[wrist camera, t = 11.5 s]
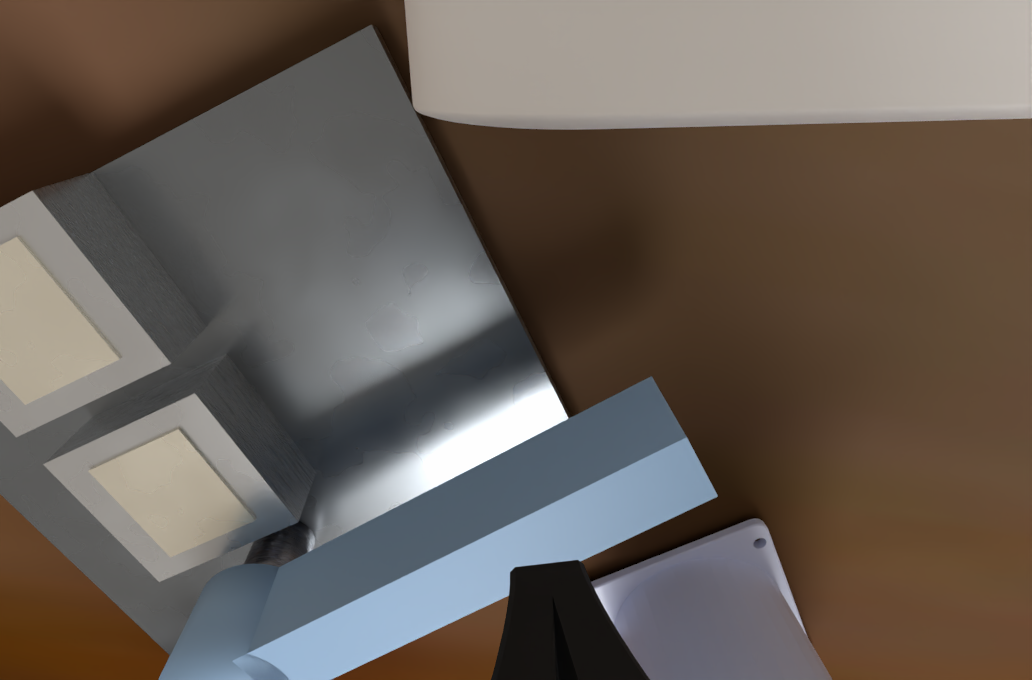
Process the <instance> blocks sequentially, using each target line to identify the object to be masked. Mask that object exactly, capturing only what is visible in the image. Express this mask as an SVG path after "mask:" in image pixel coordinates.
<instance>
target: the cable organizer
mask: <svg viewBox="0 0 1032 680" xmlns="http://www.w3.org/2000/svg"><path fill="white" fill-rule="evenodd" d="M404 2H405V15H406V27H407V40H408V52H409V65H410V77H411V90H412V102H413V107H414V109H415V110H416V111H417V112H419V113H421V114H423V115H426V116H429V117H433V118H436V119H440V120H445V121H450V122H456V123H463V124H471V125H481V126H491V127H504V128H520V129H562V130H576V129H626V128H666V127H705V126H745V125H785V124H825V123H865V122H904V121H944V120H984V119H1024V118H1032V0H404Z"/></svg>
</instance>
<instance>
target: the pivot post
mask: <svg viewBox="0 0 1032 680" xmlns="http://www.w3.org/2000/svg"><path fill="white" fill-rule="evenodd" d="M314 544H315V538H314V535H313V533H312V531H311V529H310V528H309V527H308V526H307V525H305V524H304V523H302V522H300V521H298V522H297V523H295V524H293V525H290V526H288V527H286V528H284V529H281V530H279V531H277V532H274V533H272V534H270V535H267V536H265V537H263V538H260V539H258V540H256V541H254V542H253V544H252V546H251V548H250V551H249V553H248V555H247V558H246V560H245V562H244V564H268V565H273V566H277V567H280V566H282V565H284V564H286V563H288V562H290V561H292V560H294V559H296V558H298V557H300V556H302V555H304V554H306V553H308V552H310V551H312V550H313V548H314Z"/></svg>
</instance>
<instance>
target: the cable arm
mask: <svg viewBox="0 0 1032 680" xmlns="http://www.w3.org/2000/svg"><path fill="white" fill-rule="evenodd" d="M716 497H718V495H717V493H716V491H715V490H714V488H713V486H712V484H711V482H710V480H709V478H708V476H707V474H706V473H705V471H704V469H703V467H702V465H701V463H700V461H699V459H698V457H697V456H696V454H695V452H694V450H693V448H692V446H691V444H690V442H689V440H688V439H687V437H686V435H685V433H684V432H683V430H682V428H681V426H680V425H679V423H678V421H677V419H676V418H675V416H674V414H673V412H672V411H671V409H670V407H669V406H668V404H667V402H666V400H665V399H664V397H663V395H662V393H661V392H660V390H659V388H658V386H657V385H656V383H655V381H654V380H653V378H652V376H651V377H649V378H647V379H645V380H643V381H641V382H639V383H637V384H635V385H633V386H631V387H629V388H627V389H626V390H624V391H622V392H620V393H618V394H616V395H614V396H612V397H610V398H608V399H606V400H604V401H602V402H600V403H598V404H596V405H594V406H592V407H590V408H588V409H587V410H585V411H583V412H581V413H579V414H577V415H575V416H573V417H571V418H569V419H567V420H565V421H563V422H561V423H559V424H557V425H555V426H553V427H551V428H549V429H548V430H546V431H544V432H542V433H540V434H538V435H536V436H534V437H532V438H530V439H528V440H526V441H524V442H522V443H520V444H518V445H516V446H514V447H512V448H510V449H509V450H507V451H505V452H503V453H501V454H499V455H497V456H495V457H493V458H491V459H489V460H487V461H485V462H483V463H481V464H479V465H477V466H475V467H473V468H471V469H470V470H468V471H466V472H464V473H462V474H460V475H458V476H456V477H454V478H452V479H450V480H448V481H446V482H444V483H442V484H440V485H438V486H436V487H434V488H432V489H431V490H429V491H427V492H425V493H423V494H421V495H419V496H417V497H415V498H413V499H411V500H409V501H407V502H405V503H403V504H401V505H399V506H397V507H395V508H393V509H392V510H390V511H388V512H386V513H384V514H382V515H380V516H378V517H376V518H374V519H372V520H370V521H368V522H366V523H364V524H362V525H360V526H358V527H356V528H354V529H353V530H351V531H349V532H347V533H345V534H343V535H341V536H339V537H337V538H335V539H333V540H331V541H329V542H327V543H325V544H323V545H321V546H319V547H317V548H315V549H314V550H312V551H310V552H308V553H306V554H304V555H302V556H300V557H298V558H296V559H294V560H292V561H290V562H288V563H286V564H284V565H282V566H280V567H277V566H273V565H268V564H242V565H237V566H233V567H230V568H227V569H225V570H223V571H221V572H219V573H218V574H216V575H215V576H214V577H212V578H211V579H210V580H209V581H208V582H207V584H206V585H205V587H204V588H203V590H202V592H201V594H200V596H199V598H198V600H197V602H196V604H195V606H194V608H193V611H192V613H191V615H190V617H189V619H188V621H187V623H186V625H185V627H184V629H183V631H182V633H181V635H180V637H179V639H178V641H177V643H176V645H175V647H174V649H173V651H172V653H171V655H170V657H169V659H168V661H167V663H166V665H165V667H164V669H163V671H162V673H161V675H160V677H159V680H331V679H333V678H335V677H337V676H340V675H342V674H344V673H346V672H348V671H350V670H352V669H354V668H356V667H359V666H361V665H363V664H365V663H367V662H369V661H371V660H373V659H376V658H378V657H380V656H382V655H384V654H386V653H388V652H390V651H392V650H395V649H397V648H399V647H401V646H403V645H405V644H407V643H409V642H411V641H414V640H416V639H418V638H420V637H422V636H424V635H426V634H428V633H430V632H433V631H435V630H437V629H439V628H441V627H443V626H445V625H447V624H449V623H452V622H454V621H456V620H458V619H460V618H462V617H464V616H466V615H468V614H471V613H473V612H475V611H477V610H479V609H481V608H483V607H485V606H487V605H490V604H492V603H494V602H496V601H498V600H500V599H502V598H504V597H507V596H509V590H510V572H511V571H512V570H513V569H514V568H515V567H520V566H529V565H537V564H546V563H555V562H563V561H572V560H579V561H583V560H585V559H587V558H589V557H591V556H593V555H595V554H597V553H599V552H602V551H604V550H606V549H608V548H610V547H612V546H614V545H616V544H618V543H621V542H623V541H625V540H627V539H629V538H631V537H633V536H635V535H638V534H640V533H642V532H644V531H646V530H648V529H650V528H652V527H654V526H657V525H659V524H661V523H663V522H665V521H667V520H669V519H671V518H673V517H676V516H678V515H680V514H682V513H684V512H686V511H688V510H690V509H692V508H695V507H697V506H699V505H701V504H703V503H705V502H707V501H709V500H711V499H714V498H716Z"/></svg>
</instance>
